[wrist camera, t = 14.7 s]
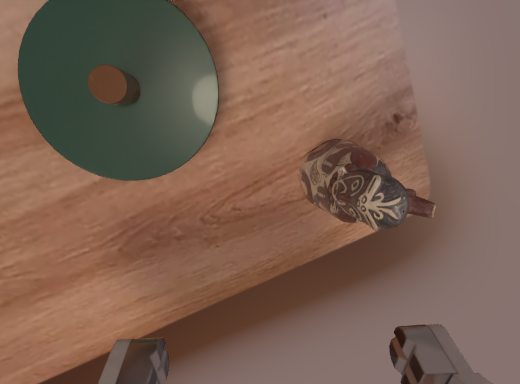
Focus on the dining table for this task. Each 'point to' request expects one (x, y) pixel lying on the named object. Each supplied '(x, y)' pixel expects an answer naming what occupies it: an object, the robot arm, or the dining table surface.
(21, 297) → the dining table surface
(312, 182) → the figurine
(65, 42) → the lid
